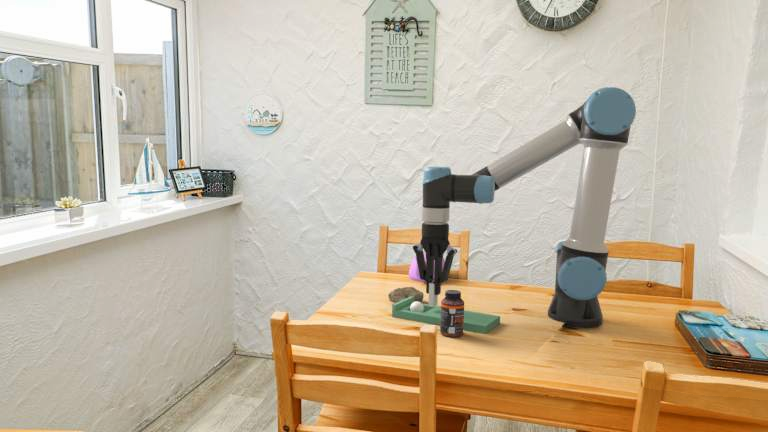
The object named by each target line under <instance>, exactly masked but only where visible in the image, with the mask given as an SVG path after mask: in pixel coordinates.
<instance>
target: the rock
mask: <svg viewBox="0 0 768 432" xmlns="http://www.w3.org/2000/svg"><path fill="white" fill-rule="evenodd" d="M410 296H411V297H414V302H416V301H418V302H421V303H423V300H424V297H425V296H424V292H423V291H420V290H419V289H417V288H415V287H413V286H405V287H404V286H403V287H401V288H400V287H398V288H395V289H393V290H391V291H390V292H389V293H388V299H389V302H391V303H393V304H395V303H397V302H399V301H401V300H404V299H406V298H408V297H410Z"/></svg>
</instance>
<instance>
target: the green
mask: <svg viewBox="0 0 768 432" xmlns="http://www.w3.org/2000/svg"><path fill="white" fill-rule="evenodd" d="M413 302H414V297H411V296H410V297H408V298H406V299H404V300H401V301H399V302H397V303H393V304H392V305H391V306H392V307H391V309H392V310H391V312H392V313H391V317H392V318H399V319H404V320H408V321H415V322H420V323H426V324H429V325H435V324H437V325H436V326H440V324H441V305H436V306H434V307H431V306H428V305H429V303H423V302H421V303H422V304H423V306H424V311H423V313H421V312H415V311H410V306H411V304H412V303H413ZM500 323H501V316H500V315H495V314H489V313H482V312H477V311H470V310H465V309H464V323H463V331H469V332H473V333H481V334H485V335H486V334H487V333H489V332H490V331H491V330H493V329H494V328H496V326H498V325H500Z"/></svg>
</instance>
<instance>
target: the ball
mask: <svg viewBox="0 0 768 432" xmlns="http://www.w3.org/2000/svg"><path fill="white" fill-rule="evenodd" d="M422 303H423V302H418V301H416V302H413V303H412V304H411V306H410V311H415V312H421V313H424V312H423V311H424V306H423V304H422Z"/></svg>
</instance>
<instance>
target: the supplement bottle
mask: <svg viewBox="0 0 768 432" xmlns="http://www.w3.org/2000/svg"><path fill="white" fill-rule="evenodd" d="M444 293H445V294H444V296H445V297H443V298H442V300H441V302H440V303H441V304H440V306H441V324H440V325H439V326H440V327H439V328H440V329H439V331H440V332H439V333H440V334H441V335H442V336H445V337H450V338H457V337H461V336H462V335H463V333H464V330H463V323H464V310H465V301H464V300H463V299H462V292H461V291H460V290H457V289H448V290H447V289H446V290H445V292H444Z"/></svg>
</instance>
